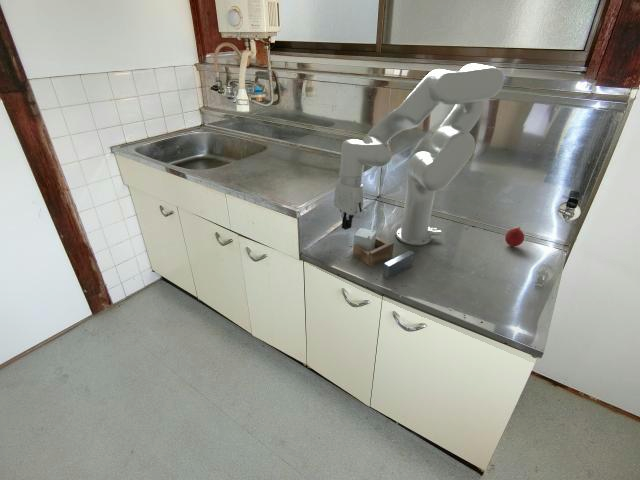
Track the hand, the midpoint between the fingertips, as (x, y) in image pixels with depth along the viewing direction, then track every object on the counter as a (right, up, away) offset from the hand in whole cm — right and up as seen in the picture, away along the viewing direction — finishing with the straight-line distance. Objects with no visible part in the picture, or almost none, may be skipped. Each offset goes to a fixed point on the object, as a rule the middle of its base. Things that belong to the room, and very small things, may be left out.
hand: (346, 227), depth 127 cm
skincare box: (+6, -8, -2) cm, 10 cm away
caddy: (+8, -10, -5) cm, 13 cm away
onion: (+59, -7, +1) cm, 59 cm away
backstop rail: (+15, -14, -12) cm, 24 cm away
